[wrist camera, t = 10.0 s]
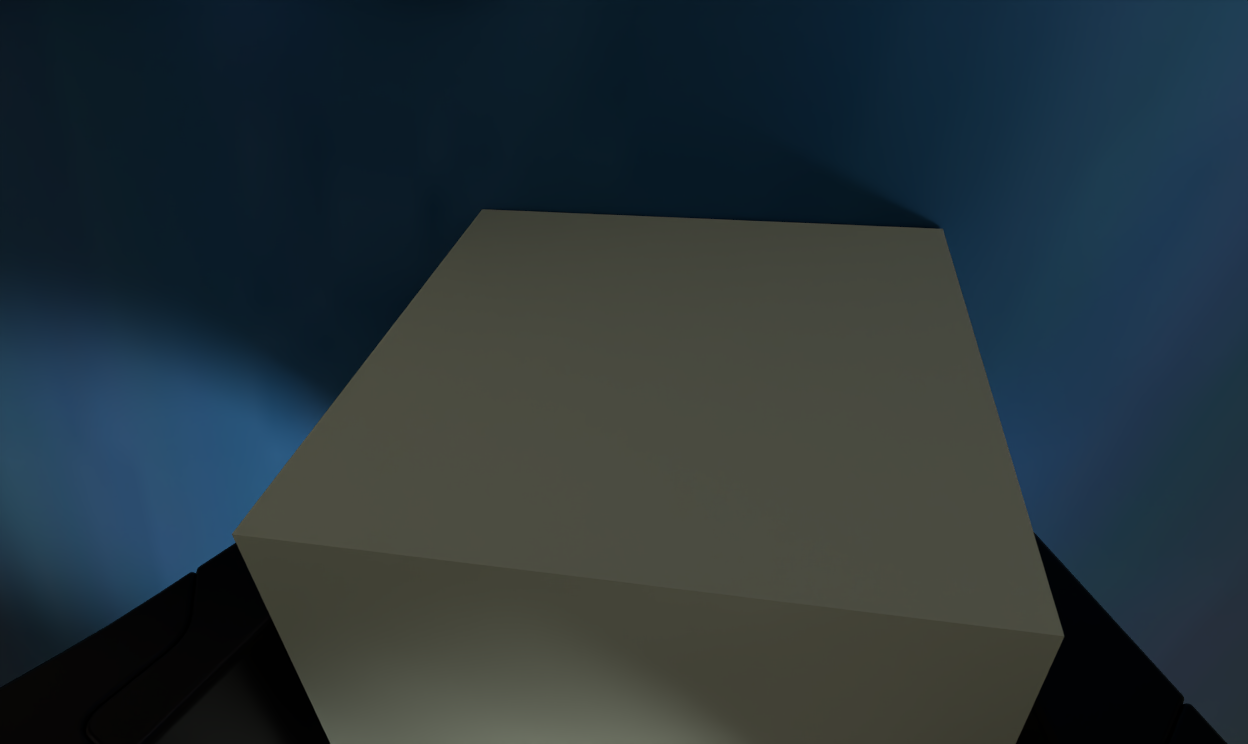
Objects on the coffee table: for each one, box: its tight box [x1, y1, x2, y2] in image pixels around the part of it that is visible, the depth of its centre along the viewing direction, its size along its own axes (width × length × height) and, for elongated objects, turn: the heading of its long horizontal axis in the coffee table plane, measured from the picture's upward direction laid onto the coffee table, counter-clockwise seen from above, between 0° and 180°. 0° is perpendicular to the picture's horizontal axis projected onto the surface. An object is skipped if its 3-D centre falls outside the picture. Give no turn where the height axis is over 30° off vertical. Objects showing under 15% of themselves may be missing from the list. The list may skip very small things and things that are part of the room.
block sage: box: [232, 209, 1064, 744], centre depth 8 cm, size 5×5×5 cm
